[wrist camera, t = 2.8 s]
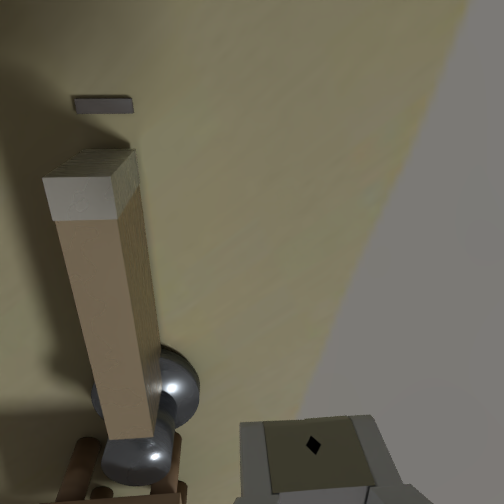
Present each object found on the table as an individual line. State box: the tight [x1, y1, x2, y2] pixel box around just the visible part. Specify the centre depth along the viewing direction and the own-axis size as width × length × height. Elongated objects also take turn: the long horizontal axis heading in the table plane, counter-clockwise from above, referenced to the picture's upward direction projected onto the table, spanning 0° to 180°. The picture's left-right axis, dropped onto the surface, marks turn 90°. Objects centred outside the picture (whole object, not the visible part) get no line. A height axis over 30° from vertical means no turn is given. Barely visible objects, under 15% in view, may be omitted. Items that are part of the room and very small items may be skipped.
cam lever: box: [42, 149, 200, 486], centre depth 19 cm, size 18×6×5 cm, turn 0°
